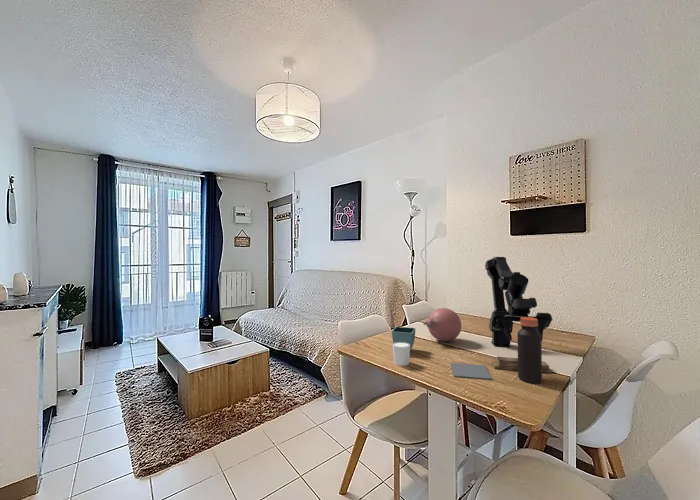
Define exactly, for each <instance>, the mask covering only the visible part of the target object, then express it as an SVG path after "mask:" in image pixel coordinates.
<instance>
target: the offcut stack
mask: <svg viewBox="0 0 700 500" xmlns="http://www.w3.org/2000/svg"><path fill="white" fill-rule="evenodd" d="M491 365H492V367H493V368H494V370H506V371H507V370H509V371H510V370H511V371H518V357H509V356H508V357H506V356H496V360H491ZM542 373H547V374H548V373H549V374H552V369H551V368H550V365H549V364H548V363H547V362H546V361H542Z"/></svg>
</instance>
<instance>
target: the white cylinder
mask: <svg viewBox="0 0 700 500" xmlns="http://www.w3.org/2000/svg"><path fill="white" fill-rule="evenodd" d="M391 346H392V354H393V363H394V365H395V366H399V367H404V366H405V367H406V366H408V365H409V364H410V354H411V350H410V344H408V343H404V342H397V343H393V342H392V345H391Z"/></svg>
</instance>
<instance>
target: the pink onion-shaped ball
mask: <svg viewBox="0 0 700 500" xmlns="http://www.w3.org/2000/svg"><path fill="white" fill-rule="evenodd" d="M422 324H423V325H424V326H426V328H427V329H428V332H429V333H430V334H431V336H432V337H433V338H435V339H436V340H438V341H440V342H450V341H453V340H455V339H457V337H459V335H460V334H461V330H462V321H461V318H460V317H459V315H458V314H457V313H456V312H455V311H454V310H452V309H450V308H446V307H441V308H437V309H435V310H433V311H432V312H431V313H430V314H429V315H428V317H427V321H425V322H423V323H422Z"/></svg>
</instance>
